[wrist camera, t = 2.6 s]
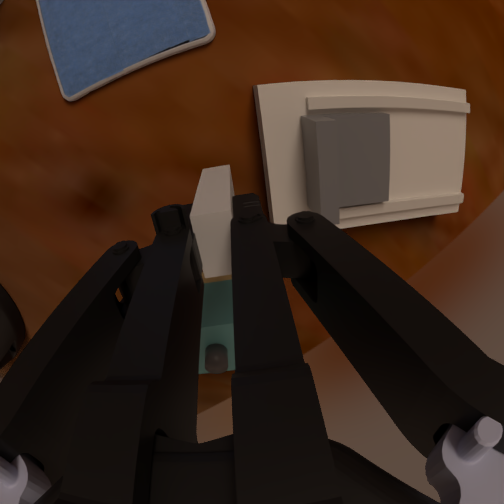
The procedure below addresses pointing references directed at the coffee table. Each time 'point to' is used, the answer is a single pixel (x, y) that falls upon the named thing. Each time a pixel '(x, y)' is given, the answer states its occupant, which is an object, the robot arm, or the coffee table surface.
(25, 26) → the coffee table surface
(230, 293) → the plug
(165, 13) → the blue flat panel
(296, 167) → the grey tray
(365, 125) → the shutter
